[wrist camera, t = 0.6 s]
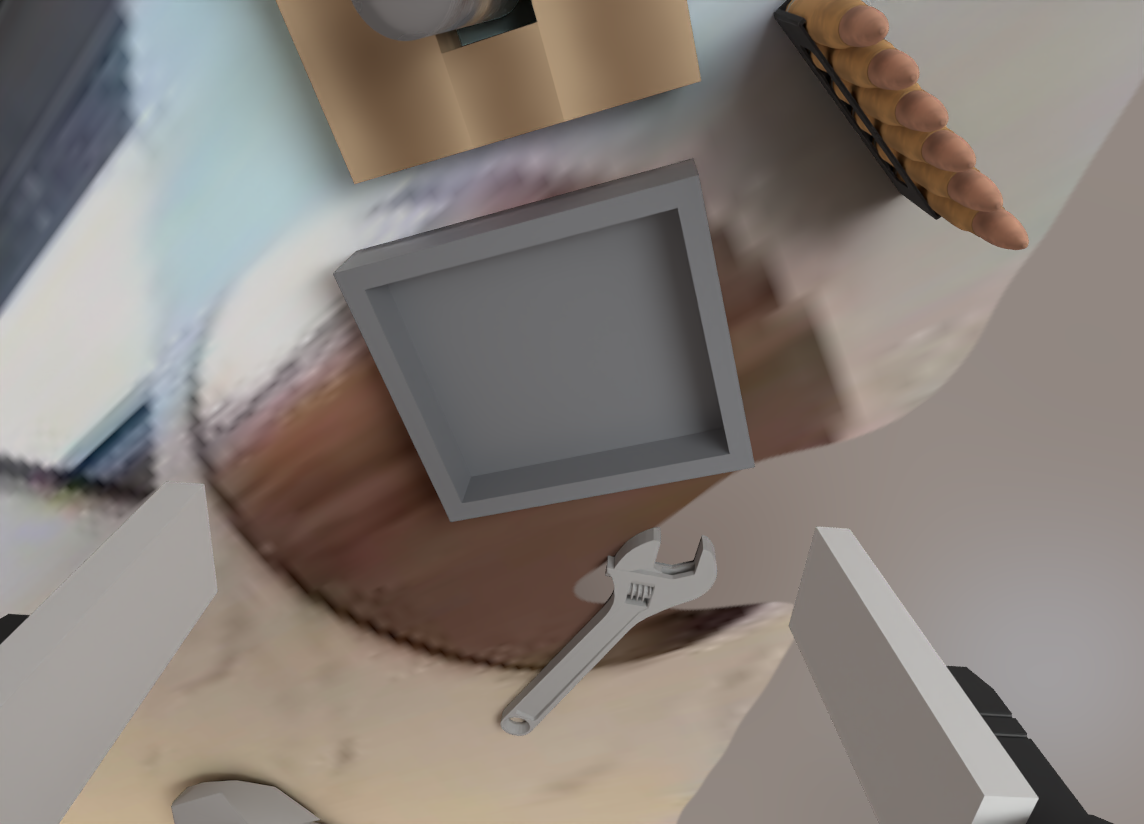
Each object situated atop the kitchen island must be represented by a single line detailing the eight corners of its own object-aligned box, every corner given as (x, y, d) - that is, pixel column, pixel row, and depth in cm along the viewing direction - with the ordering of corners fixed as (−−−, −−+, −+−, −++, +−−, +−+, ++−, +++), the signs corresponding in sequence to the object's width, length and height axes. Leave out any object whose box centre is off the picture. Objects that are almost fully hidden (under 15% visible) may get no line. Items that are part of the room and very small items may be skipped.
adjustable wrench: (525, 724, 60) (522, 743, 58) (460, 690, 58) (455, 709, 57) (730, 553, 48) (733, 572, 46) (656, 505, 46) (657, 523, 45)
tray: (693, 158, 35) (698, 174, 32) (746, 433, 42) (755, 467, 39) (356, 251, 38) (333, 273, 35) (462, 487, 46) (450, 522, 43)
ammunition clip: (771, 13, 31) (837, 28, 21) (808, -21, 31) (894, -22, 20) (901, 195, 35) (1012, 283, 25) (937, 168, 34) (1065, 248, 24)
